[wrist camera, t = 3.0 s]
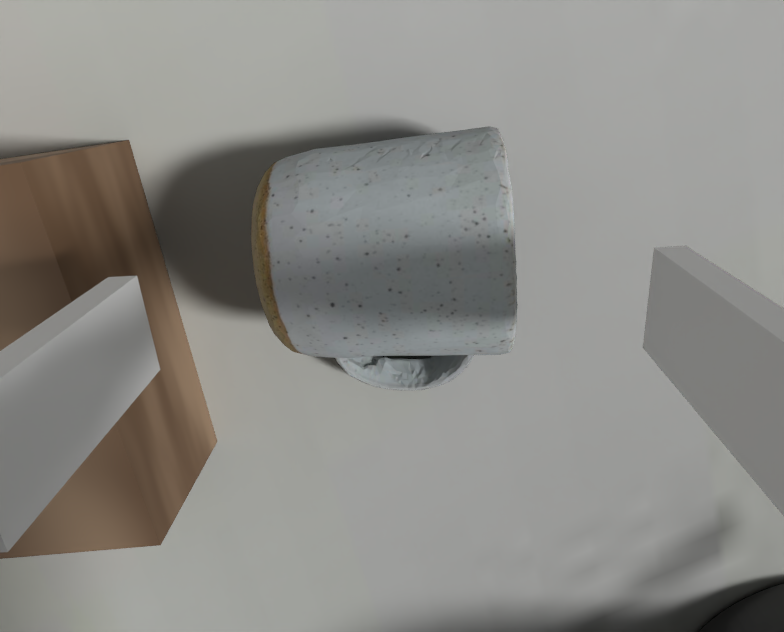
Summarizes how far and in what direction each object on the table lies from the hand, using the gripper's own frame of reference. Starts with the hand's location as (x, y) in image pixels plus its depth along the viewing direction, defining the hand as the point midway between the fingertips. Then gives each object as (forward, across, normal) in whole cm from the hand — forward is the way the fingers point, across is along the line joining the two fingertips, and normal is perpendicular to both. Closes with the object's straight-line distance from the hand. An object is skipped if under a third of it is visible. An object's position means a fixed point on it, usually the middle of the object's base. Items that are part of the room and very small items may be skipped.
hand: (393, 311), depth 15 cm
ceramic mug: (+10, 0, +2) cm, 10 cm away
